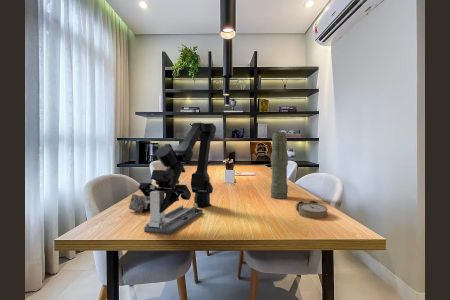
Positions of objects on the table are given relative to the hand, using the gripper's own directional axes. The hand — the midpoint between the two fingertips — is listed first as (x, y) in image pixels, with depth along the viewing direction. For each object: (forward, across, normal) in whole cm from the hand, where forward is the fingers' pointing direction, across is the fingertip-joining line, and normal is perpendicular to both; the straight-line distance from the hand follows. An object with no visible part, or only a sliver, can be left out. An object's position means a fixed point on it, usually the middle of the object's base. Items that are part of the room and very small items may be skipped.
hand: (155, 212), depth 82 cm
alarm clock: (-22, +50, +32) cm, 63 cm away
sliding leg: (+2, +2, +4) cm, 5 cm away
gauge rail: (-4, +2, +13) cm, 13 cm away
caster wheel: (-10, -19, +20) cm, 29 cm away
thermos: (-40, +34, +50) cm, 73 cm away
